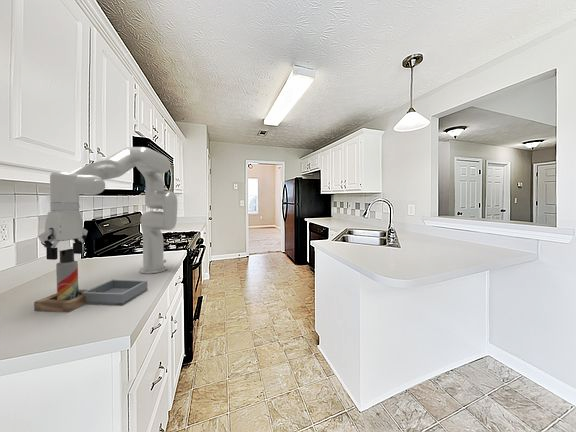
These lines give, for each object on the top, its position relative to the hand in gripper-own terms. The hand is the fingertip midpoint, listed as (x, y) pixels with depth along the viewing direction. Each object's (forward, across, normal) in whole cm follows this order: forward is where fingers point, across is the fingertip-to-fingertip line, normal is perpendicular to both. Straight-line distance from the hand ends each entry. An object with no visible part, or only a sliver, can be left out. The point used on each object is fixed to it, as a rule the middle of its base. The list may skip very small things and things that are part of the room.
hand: (65, 256), depth 87 cm
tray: (+17, -9, +12) cm, 23 cm away
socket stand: (+17, -1, 0) cm, 17 cm away
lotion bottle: (+18, -1, 0) cm, 18 cm away
